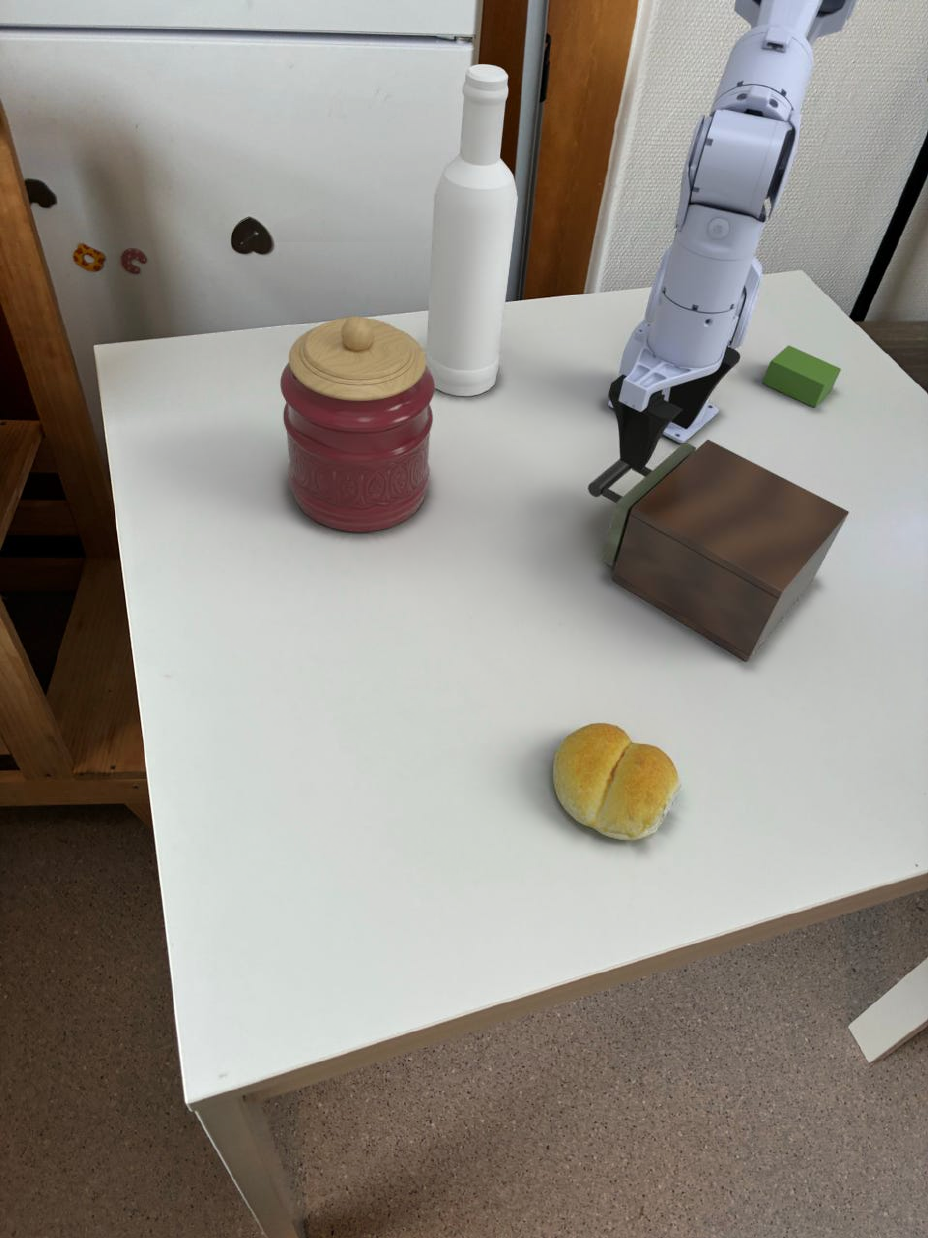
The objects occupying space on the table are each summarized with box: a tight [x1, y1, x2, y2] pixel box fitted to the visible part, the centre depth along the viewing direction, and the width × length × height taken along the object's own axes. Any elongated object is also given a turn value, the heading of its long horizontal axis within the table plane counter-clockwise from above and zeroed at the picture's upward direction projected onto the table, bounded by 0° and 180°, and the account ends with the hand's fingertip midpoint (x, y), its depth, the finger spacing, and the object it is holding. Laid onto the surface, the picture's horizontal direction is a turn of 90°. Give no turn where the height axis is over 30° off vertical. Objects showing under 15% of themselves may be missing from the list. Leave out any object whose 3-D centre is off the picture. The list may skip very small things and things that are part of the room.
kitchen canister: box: [279, 315, 436, 533], centre depth 78 cm, size 13×13×18 cm
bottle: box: [424, 63, 519, 397], centre depth 87 cm, size 8×8×30 cm
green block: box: [762, 345, 842, 408], centre depth 101 cm, size 6×4×3 cm
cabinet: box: [611, 439, 850, 662], centre depth 77 cm, size 14×13×9 cm
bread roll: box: [552, 722, 682, 841], centre depth 64 cm, size 8×9×4 cm
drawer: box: [587, 441, 697, 566], centre depth 79 cm, size 17×11×7 cm
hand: (655, 442), depth 76 cm, fingers open, 7 cm apart
